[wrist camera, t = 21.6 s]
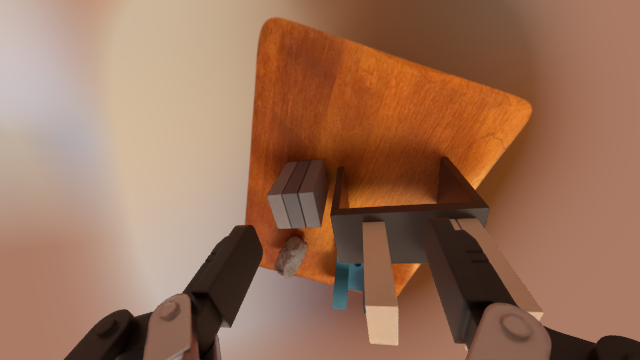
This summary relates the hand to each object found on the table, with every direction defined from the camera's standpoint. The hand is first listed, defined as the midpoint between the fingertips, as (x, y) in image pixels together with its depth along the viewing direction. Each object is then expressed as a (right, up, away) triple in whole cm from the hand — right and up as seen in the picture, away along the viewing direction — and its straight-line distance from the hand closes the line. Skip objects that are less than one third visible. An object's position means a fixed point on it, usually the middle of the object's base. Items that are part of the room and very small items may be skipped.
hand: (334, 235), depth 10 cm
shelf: (+13, +2, +34) cm, 37 cm away
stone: (-7, -12, +46) cm, 48 cm away
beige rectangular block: (+7, -6, +22) cm, 24 cm away
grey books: (-3, +3, +36) cm, 36 cm away
